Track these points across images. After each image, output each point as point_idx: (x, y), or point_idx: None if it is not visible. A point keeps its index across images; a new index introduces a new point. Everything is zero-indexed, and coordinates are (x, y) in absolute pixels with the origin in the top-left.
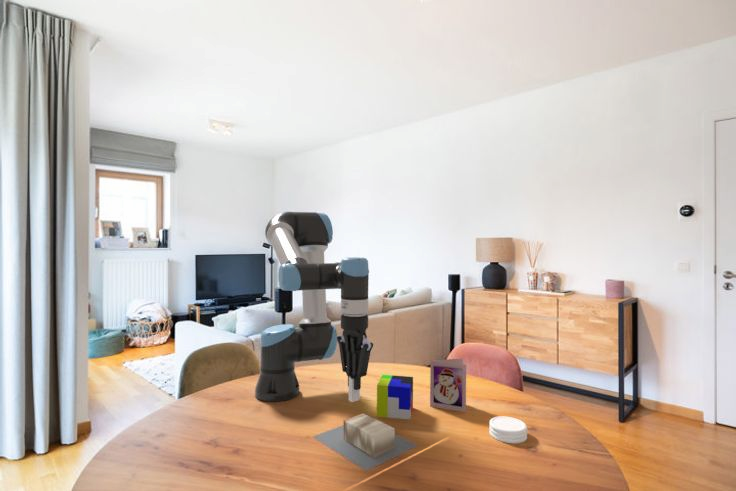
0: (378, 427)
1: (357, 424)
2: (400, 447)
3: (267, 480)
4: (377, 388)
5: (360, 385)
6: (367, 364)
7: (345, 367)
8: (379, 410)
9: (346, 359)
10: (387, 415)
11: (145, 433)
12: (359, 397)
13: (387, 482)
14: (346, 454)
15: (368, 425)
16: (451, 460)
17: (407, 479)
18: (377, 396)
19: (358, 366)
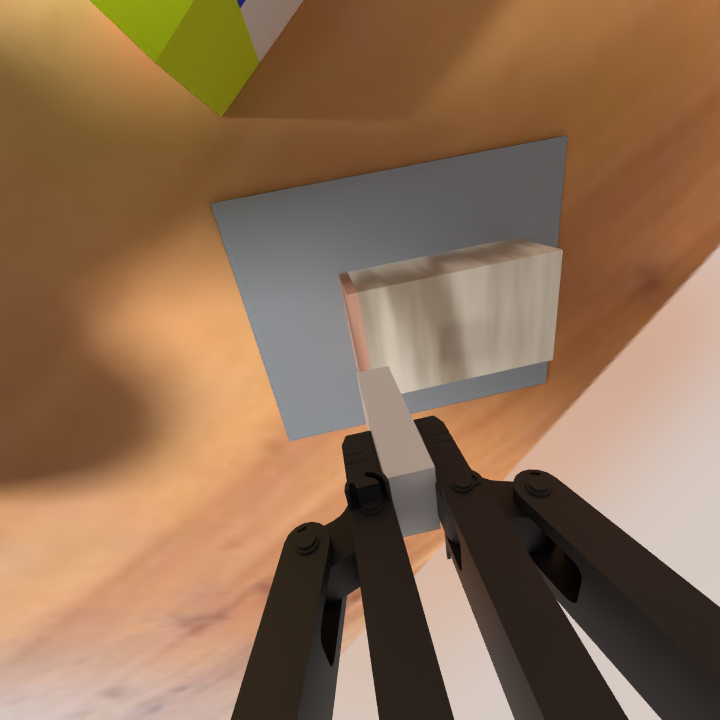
0: (508, 308)
1: (430, 369)
2: (529, 215)
3: (423, 551)
4: (168, 67)
5: (447, 431)
6: (677, 585)
7: (340, 613)
8: (222, 95)
9: (321, 703)
10: (257, 58)
11: (94, 712)
12: (391, 373)
13: (609, 355)
14: (446, 394)
15: (467, 335)
16: (712, 84)
17: (643, 303)
18: (190, 85)
19: (591, 634)
